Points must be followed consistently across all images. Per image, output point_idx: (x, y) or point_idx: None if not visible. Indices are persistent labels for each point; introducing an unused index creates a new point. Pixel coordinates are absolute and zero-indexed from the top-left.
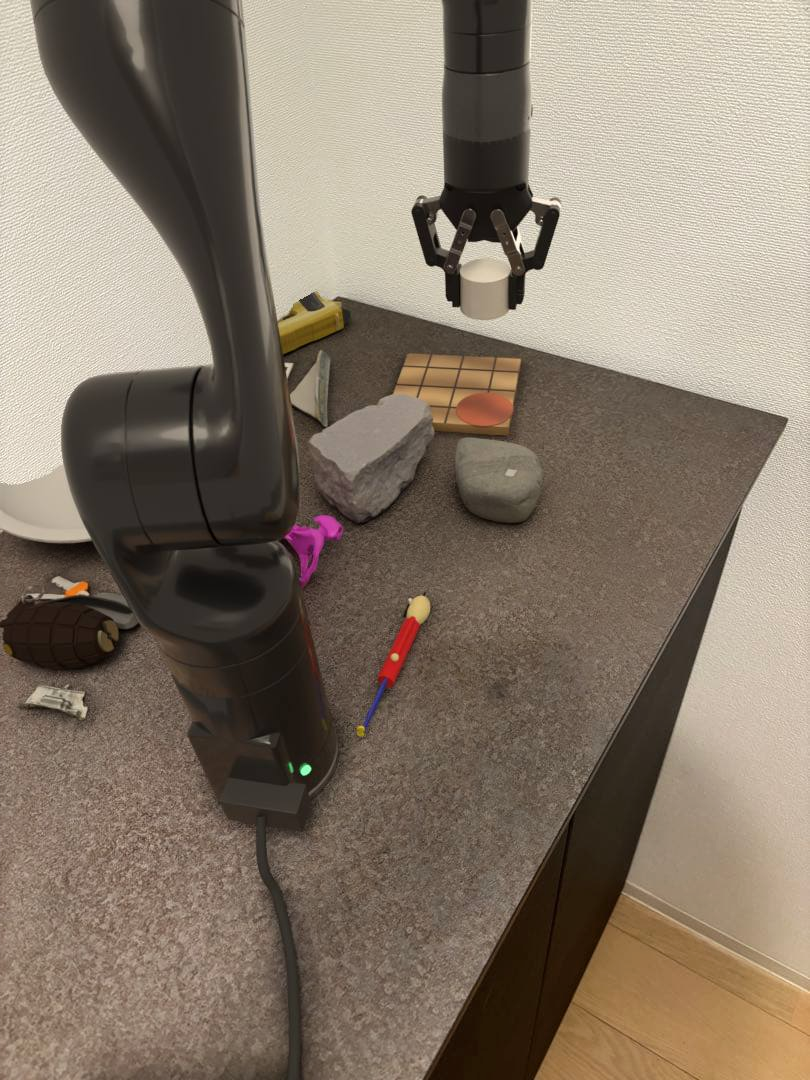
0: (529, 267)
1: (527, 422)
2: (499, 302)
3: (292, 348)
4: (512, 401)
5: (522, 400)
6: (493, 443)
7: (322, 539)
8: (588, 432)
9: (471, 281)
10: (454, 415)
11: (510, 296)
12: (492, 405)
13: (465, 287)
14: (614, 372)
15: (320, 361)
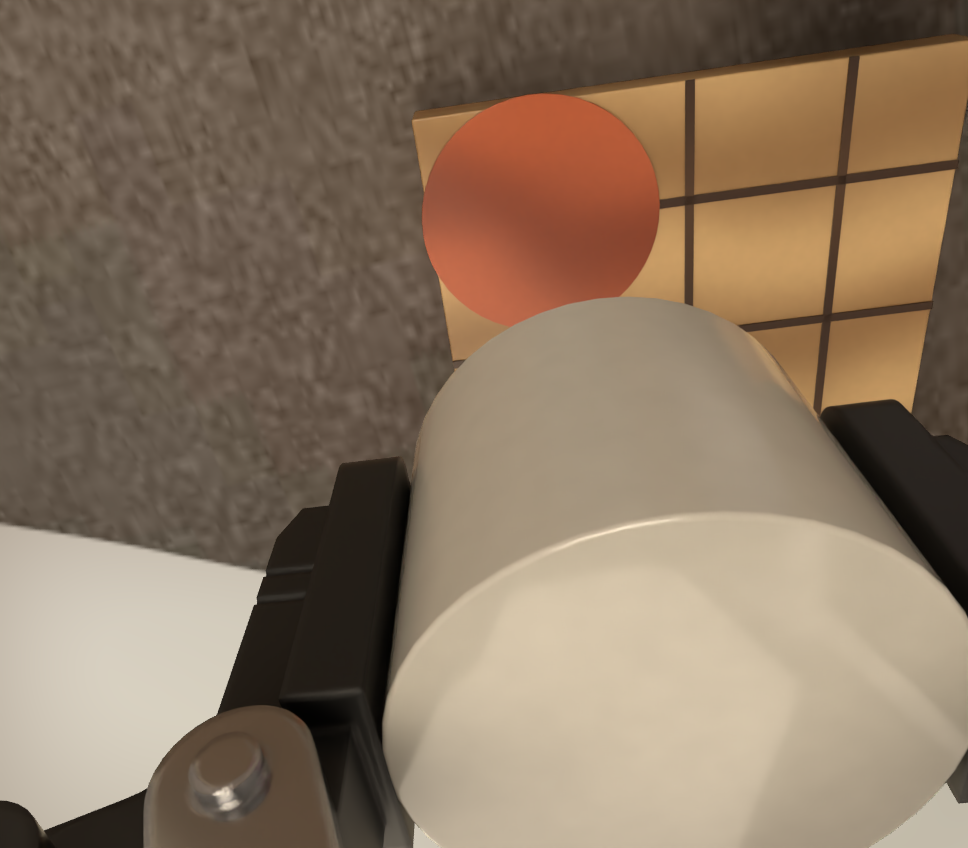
0: (125, 830)
1: (368, 223)
2: (457, 436)
3: None
4: (444, 298)
5: (426, 350)
6: None
7: None
8: (126, 215)
9: (822, 522)
10: (657, 146)
11: (374, 526)
12: (514, 250)
13: (858, 488)
14: (182, 554)
15: None
